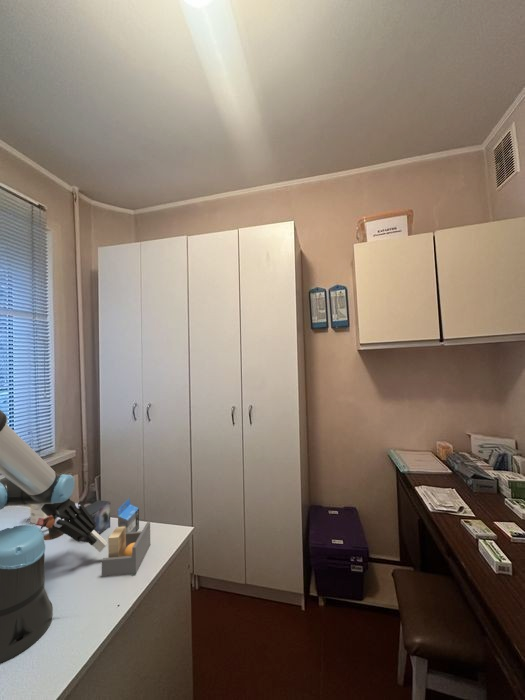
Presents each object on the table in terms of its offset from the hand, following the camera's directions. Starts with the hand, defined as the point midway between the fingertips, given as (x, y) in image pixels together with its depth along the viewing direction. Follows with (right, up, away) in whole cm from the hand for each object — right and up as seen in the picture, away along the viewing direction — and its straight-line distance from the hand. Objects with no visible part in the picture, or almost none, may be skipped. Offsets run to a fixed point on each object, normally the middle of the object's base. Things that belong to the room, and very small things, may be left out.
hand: (104, 547), depth 93 cm
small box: (-12, -6, +15) cm, 21 cm away
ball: (+11, 0, +1) cm, 11 cm away
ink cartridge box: (-40, -7, +26) cm, 49 cm away
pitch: (+1, -5, 0) cm, 5 cm away
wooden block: (+5, -4, 0) cm, 6 cm away
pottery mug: (-27, -7, +17) cm, 33 cm away
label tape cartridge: (+2, -5, +14) cm, 15 cm away
